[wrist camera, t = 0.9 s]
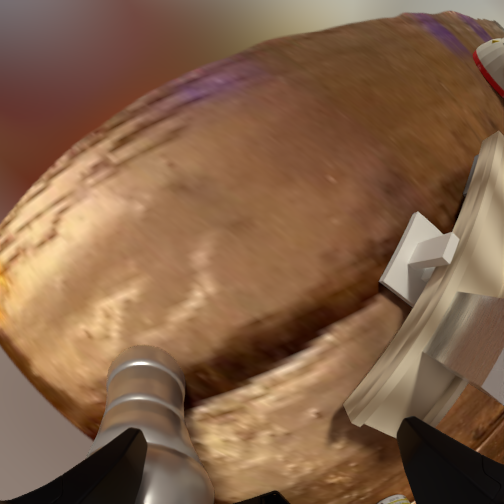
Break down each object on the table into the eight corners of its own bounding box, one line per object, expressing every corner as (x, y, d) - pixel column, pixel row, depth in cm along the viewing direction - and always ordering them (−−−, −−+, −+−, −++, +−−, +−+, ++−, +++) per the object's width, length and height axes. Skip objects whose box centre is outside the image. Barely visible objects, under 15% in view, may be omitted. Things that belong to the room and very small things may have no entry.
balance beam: (392, 419, 22) (414, 450, 16) (336, 389, 23) (351, 422, 17) (508, 195, 22) (540, 185, 15) (468, 149, 22) (498, 130, 16)
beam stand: (461, 347, 22) (500, 357, 16) (378, 281, 23) (415, 278, 17) (487, 286, 23) (525, 284, 16) (412, 214, 24) (450, 194, 18)
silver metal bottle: (193, 385, 23) (276, 577, 4) (131, 407, 21) (139, 598, 2) (164, 326, 22) (207, 546, 3) (98, 351, 20) (30, 547, 1)
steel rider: (450, 371, 17) (505, 406, 9) (422, 351, 18) (481, 387, 10) (481, 316, 17) (543, 332, 9) (456, 291, 17) (524, 301, 9)
